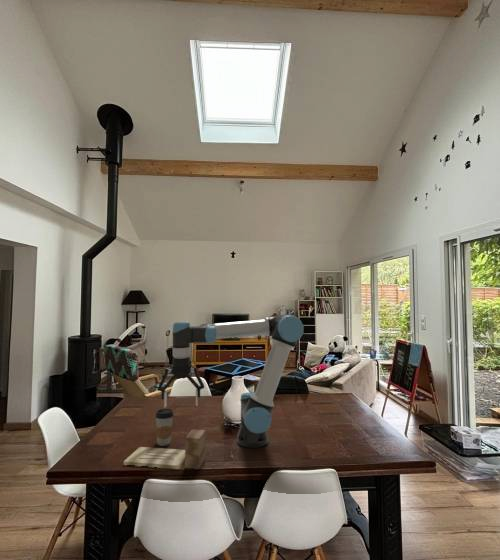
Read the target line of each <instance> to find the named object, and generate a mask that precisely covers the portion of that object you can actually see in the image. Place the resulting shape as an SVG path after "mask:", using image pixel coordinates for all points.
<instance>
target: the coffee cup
mask: <svg viewBox="0 0 500 560" xmlns="http://www.w3.org/2000/svg"><path fill="white" fill-rule="evenodd" d="M155 420H156V422H155V424H156V426H155V427H156V428H155V430H156V442H157V445H158V446H161V447H164V446H168V445H170V444H171V442H172V435H173V433H172V432H173V423H174V422H173V420H174V412H173V409H171V408H160V409H158V410H157V411H156V415H155Z"/></svg>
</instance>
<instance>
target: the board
mask: <svg viewBox="0 0 500 560" xmlns="http://www.w3.org/2000/svg"><path fill="white" fill-rule="evenodd" d="M183 464H185V449H179V448H177V449H176V448H165V447H164V448H163V447H148V446H147V447H146V446H139V447H138V448H137V449H136V450H135V451H134V452H132V453H131V454H130V455H129V456H128V457H127V458H126V459H125V460H124V461H123V466H127V465H135V466H134V467H141V466H148V467H147V468H154V467H157V469H167V470H168V469H169V470H180V469H181V467H182V466H183Z"/></svg>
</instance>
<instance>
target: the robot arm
mask: <svg viewBox="0 0 500 560" xmlns="http://www.w3.org/2000/svg"><path fill="white" fill-rule="evenodd" d="M304 329H305V327H304V324H303V322H302V320H301V319H300V318H299V317H297V316H295V315H293V314H284V313H283V314H279V315H275V316H267V317H266V316H265V318H264V319H255V320H254V319H253V320H243V321H230V322H217V323H202V324H200V325H198V326H197V325H196V326H195V325H193V326H192V325H191V324H190V322H189V321H177V322H174V323H173V324H172V357H173V358H172V368H168V367H166V368H165V369H164V375H163V377H162V379H161V381H160V383H159V385H158V386H157V391H158V392H160V393H161V400H163V409H167V408H166V407H167V405H168V404H167V401H168V397H167V395H168V394H167V392H168V391H167V388H169V386H170V385H171V383H172V382H173V381H174V380H175V379H177V380H180V379H186V378H187V380H188V381H189V382H190V383H191V384H192V385H193V386H194V387H195V406H196V407H198V405H199V404H198V400H199V399H198V398H201V390H202V389H205V383H204V382H203V380H202V378H201V376H200V374H199V373H198V368H197V366H194V367H191V359H190V356H191V355H190V353H191V347H190V346H191V345H190V344H206V343H207V344H210V343H211V344H214V343H216V342H217V339H219V340H220V339H230V338H241V337H243V338H244V337H252V336H255V337H256V336H266V337H271V338H270V339H271V342H272V345H271V347H270V350H269V354H268V356H267V359H266V362H265V365H264V367H263V370H262V372H261V375H260V377H259V381H258V383H257V386H256V389H255V391H254V392H253V391H252V392H250V391H249V392H244V393H241V395H240V426H239V430H238V432H237V436H236V443H237V444H238V445H239V446H241V447H244V448H250V449H251V448H252V449H255V448H261V447H265V446H266V445H267V444H268V443H269V435H268V433H267V431H268V430H269V429H270V426H271V425H272V413H273V410H274V407H275V404H274V397H275V394H276V392H277V388H278V386H279V384H280V381H281V378H282V375H283V372H284V369H285V366H286V364H287V361H288V359H289V358H288V357H289V356H290V353H291V350H293V349H295V348H296V347H297V344H298V341H299V340H300V339H301V338H302V336H303V334H304ZM191 372H192V373H194V375H195V377H196V379H197V381H198V383H199V384H198V383H197V382H196V381H195V379H194V378H193V377H192V376H191V374H190V373H191ZM170 373H172V376H171V378H170V379H169V380H168V381H167V382H166V384H165V385H164V386H163V384H164V383H165V380H166V378H167V377H168V375H169V374H170Z"/></svg>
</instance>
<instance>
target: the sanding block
mask: <svg viewBox="0 0 500 560" xmlns="http://www.w3.org/2000/svg"><path fill="white" fill-rule="evenodd" d="M206 433H207V431H206V430H205V429H191V430H190V432H189V433H187V435H186V437H185V449H184V450H185V462H184V468H185V469H191V468H194V470H200V469H201V467H202V465H203V463H204V462H205V460H206V439H207V438H206V435H207V434H206ZM199 468H200V469H199Z"/></svg>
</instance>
